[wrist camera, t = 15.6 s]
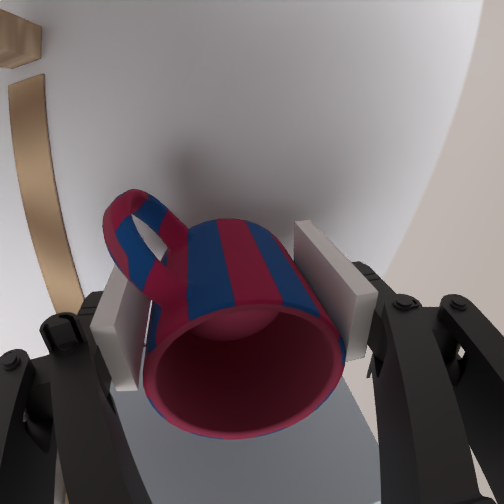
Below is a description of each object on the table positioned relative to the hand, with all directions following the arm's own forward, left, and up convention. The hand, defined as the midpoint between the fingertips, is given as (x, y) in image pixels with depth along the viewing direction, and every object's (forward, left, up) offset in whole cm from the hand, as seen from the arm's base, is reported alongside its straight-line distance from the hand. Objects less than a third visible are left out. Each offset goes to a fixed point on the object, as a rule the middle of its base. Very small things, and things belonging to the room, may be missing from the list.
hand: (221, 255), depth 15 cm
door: (+10, -1, -3) cm, 10 cm away
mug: (0, -1, 0) cm, 1 cm away
